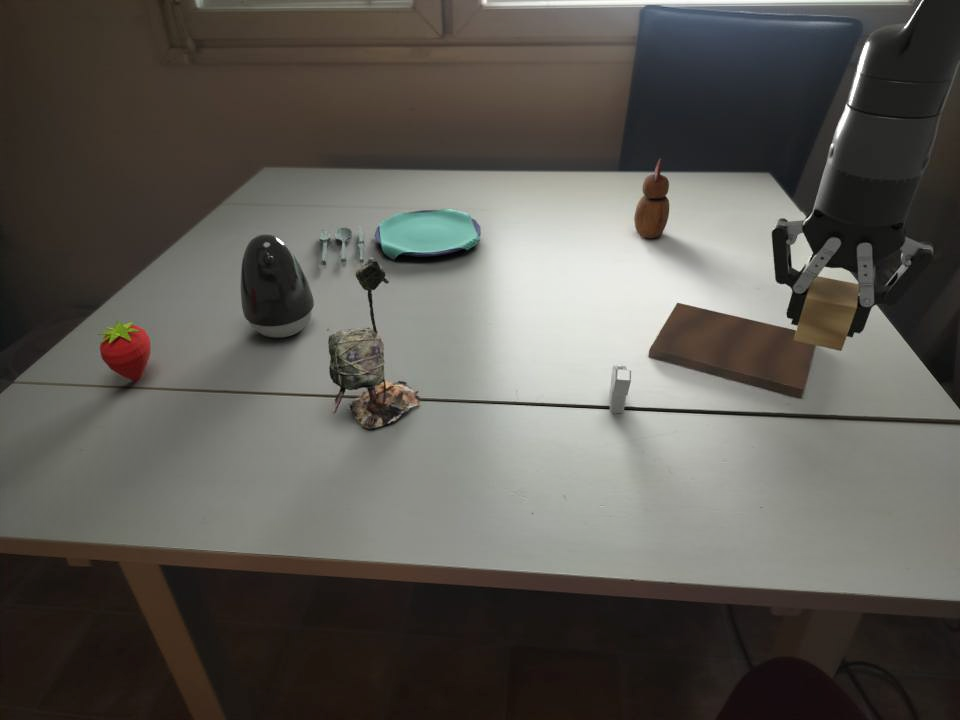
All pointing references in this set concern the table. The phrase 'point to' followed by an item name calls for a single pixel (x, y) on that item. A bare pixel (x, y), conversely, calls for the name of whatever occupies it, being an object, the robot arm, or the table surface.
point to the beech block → (827, 313)
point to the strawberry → (126, 350)
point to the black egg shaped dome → (274, 288)
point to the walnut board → (734, 349)
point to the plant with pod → (367, 364)
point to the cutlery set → (416, 234)
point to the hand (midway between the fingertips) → (821, 326)
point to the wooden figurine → (653, 205)
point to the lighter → (619, 388)
